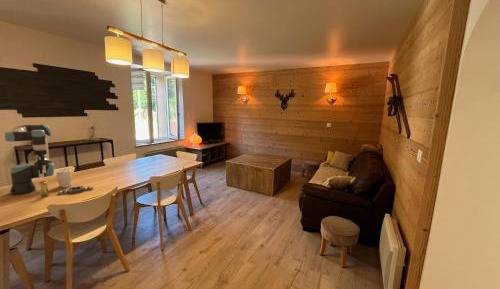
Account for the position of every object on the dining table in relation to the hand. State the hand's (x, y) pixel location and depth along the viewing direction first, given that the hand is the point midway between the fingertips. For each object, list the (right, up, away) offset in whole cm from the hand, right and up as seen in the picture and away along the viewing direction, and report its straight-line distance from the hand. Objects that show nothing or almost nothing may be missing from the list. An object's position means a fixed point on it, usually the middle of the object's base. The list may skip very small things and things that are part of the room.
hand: (42, 175), depth 174 cm
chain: (+14, -16, +16) cm, 27 cm away
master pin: (-1, -18, +3) cm, 18 cm away
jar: (-4, -14, +26) cm, 30 cm away
